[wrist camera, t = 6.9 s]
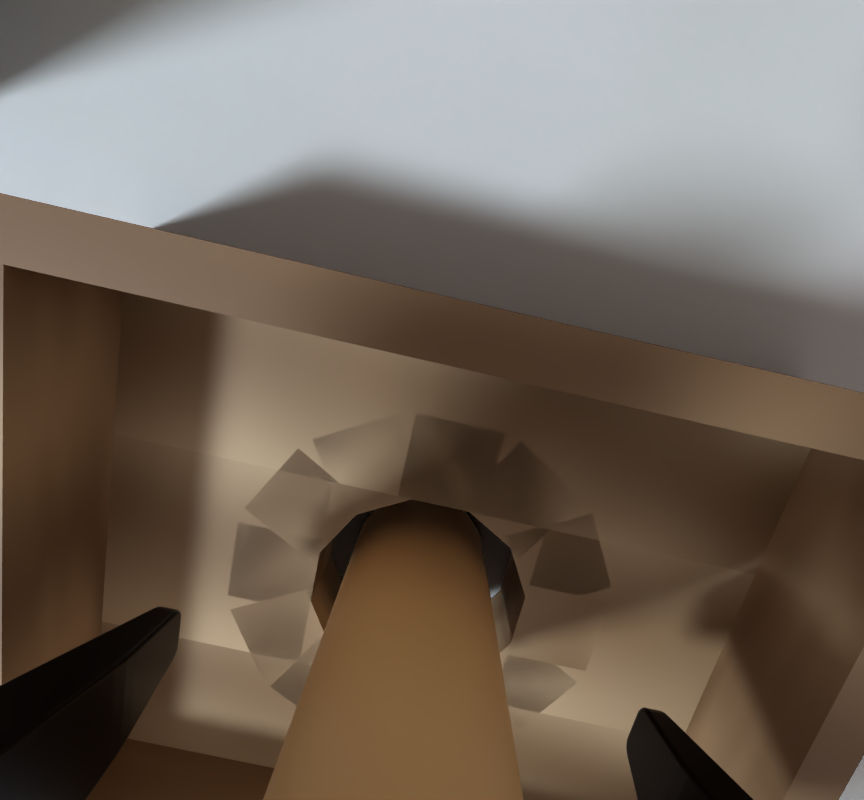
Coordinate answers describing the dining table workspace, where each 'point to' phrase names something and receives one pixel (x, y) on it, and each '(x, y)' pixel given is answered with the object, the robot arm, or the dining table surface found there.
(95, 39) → the dining table surface
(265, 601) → the crate
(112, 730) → the robot arm
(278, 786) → the peg
